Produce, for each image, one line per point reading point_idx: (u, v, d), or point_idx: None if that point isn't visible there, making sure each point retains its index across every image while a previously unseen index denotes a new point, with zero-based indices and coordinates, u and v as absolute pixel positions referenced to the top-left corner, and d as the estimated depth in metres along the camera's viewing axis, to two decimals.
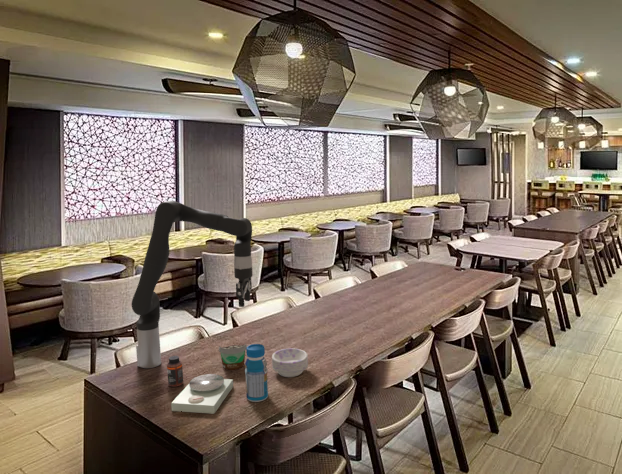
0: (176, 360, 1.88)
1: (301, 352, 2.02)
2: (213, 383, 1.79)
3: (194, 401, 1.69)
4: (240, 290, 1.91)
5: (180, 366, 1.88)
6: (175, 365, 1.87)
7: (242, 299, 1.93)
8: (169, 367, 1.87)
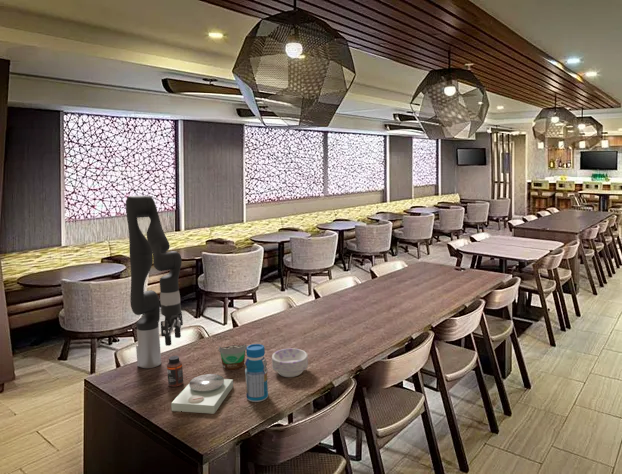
0: (176, 360, 1.88)
1: (301, 352, 2.02)
2: (213, 383, 1.79)
3: (194, 401, 1.69)
4: (165, 328, 1.80)
5: (180, 366, 1.88)
6: (175, 365, 1.87)
7: (168, 337, 1.82)
8: (169, 367, 1.87)
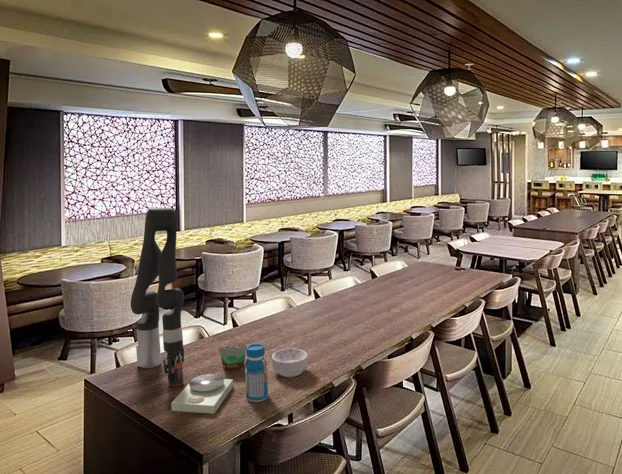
0: None
1: (301, 352, 2.02)
2: (213, 383, 1.79)
3: (194, 401, 1.69)
4: (168, 367, 1.82)
5: (180, 366, 1.88)
6: None
7: (172, 374, 1.86)
8: None
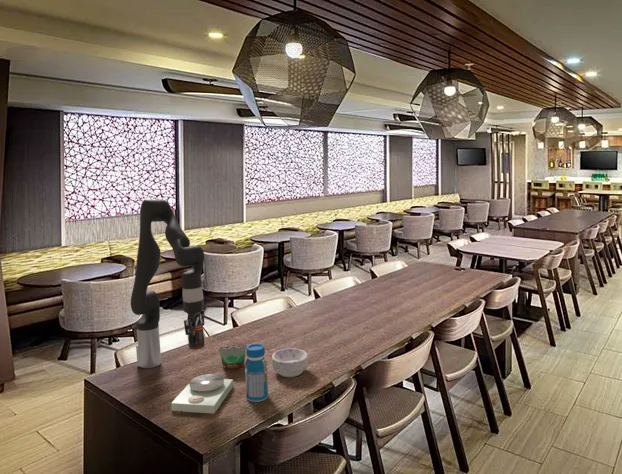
0: None
1: (301, 352, 2.02)
2: (213, 383, 1.79)
3: (194, 401, 1.69)
4: (189, 328, 1.73)
5: (201, 328, 1.79)
6: None
7: (193, 336, 1.76)
8: None
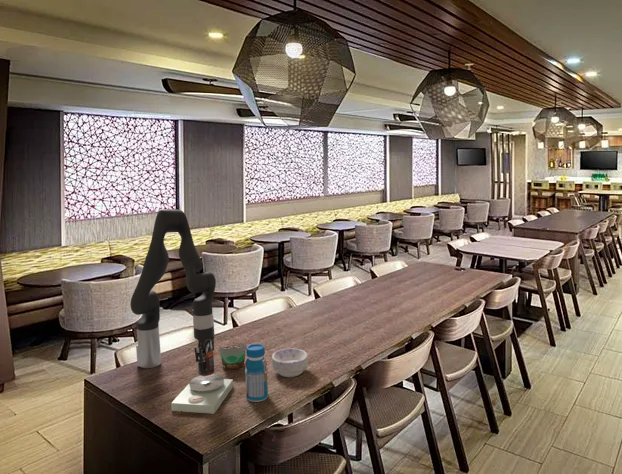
0: None
1: (301, 352, 2.02)
2: (213, 383, 1.79)
3: (194, 401, 1.69)
4: (200, 355, 1.72)
5: (211, 354, 1.78)
6: None
7: (203, 363, 1.76)
8: None
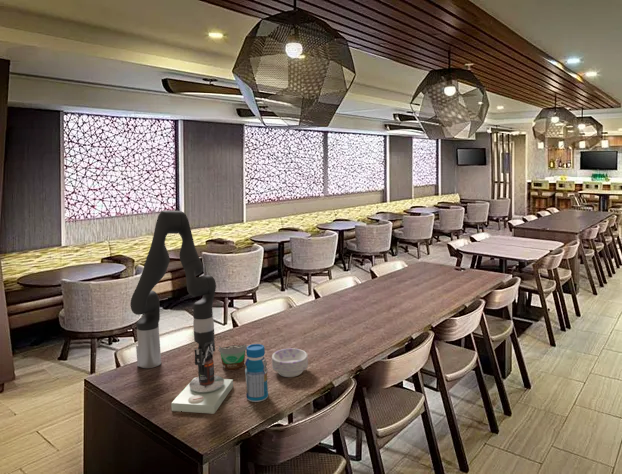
0: (208, 357, 1.78)
1: (301, 352, 2.02)
2: (213, 384, 1.79)
3: (194, 401, 1.69)
4: (199, 357, 1.72)
5: (212, 363, 1.79)
6: (206, 362, 1.77)
7: (202, 366, 1.75)
8: None
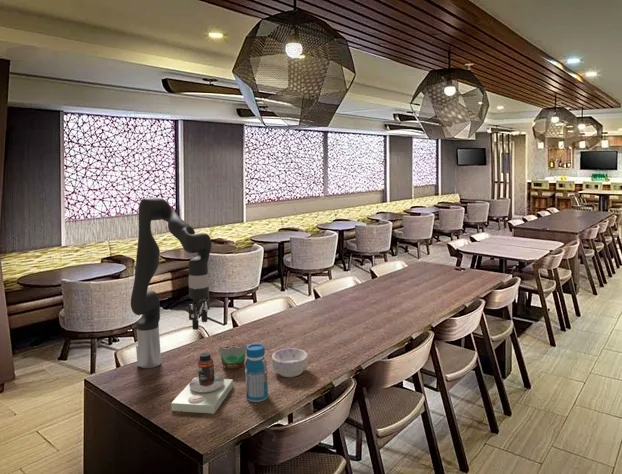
0: (207, 357, 1.78)
1: (301, 352, 2.02)
2: (213, 384, 1.79)
3: (194, 401, 1.69)
4: (193, 312, 1.75)
5: (212, 363, 1.79)
6: (206, 362, 1.77)
7: (196, 321, 1.78)
8: (200, 364, 1.77)
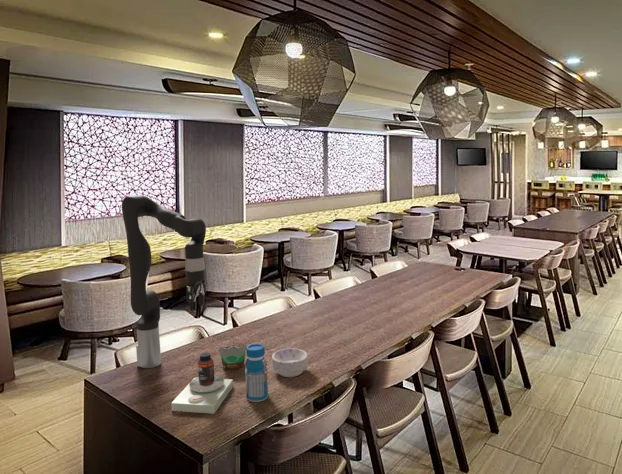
0: (208, 357, 1.78)
1: (301, 352, 2.02)
2: (213, 384, 1.79)
3: (194, 401, 1.69)
4: (190, 293, 1.84)
5: (212, 363, 1.79)
6: (206, 362, 1.77)
7: (193, 303, 1.86)
8: (200, 364, 1.77)
